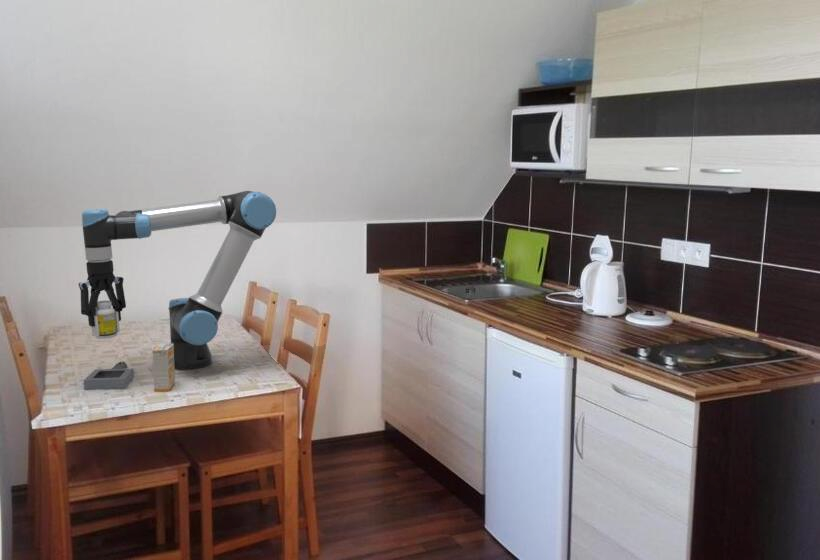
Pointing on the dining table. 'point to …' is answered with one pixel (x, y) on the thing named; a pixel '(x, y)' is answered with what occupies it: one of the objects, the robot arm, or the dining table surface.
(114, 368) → the low gray tray
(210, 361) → the robot arm
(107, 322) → the pill bottle
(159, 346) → the supplement box
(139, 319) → the dining table surface
